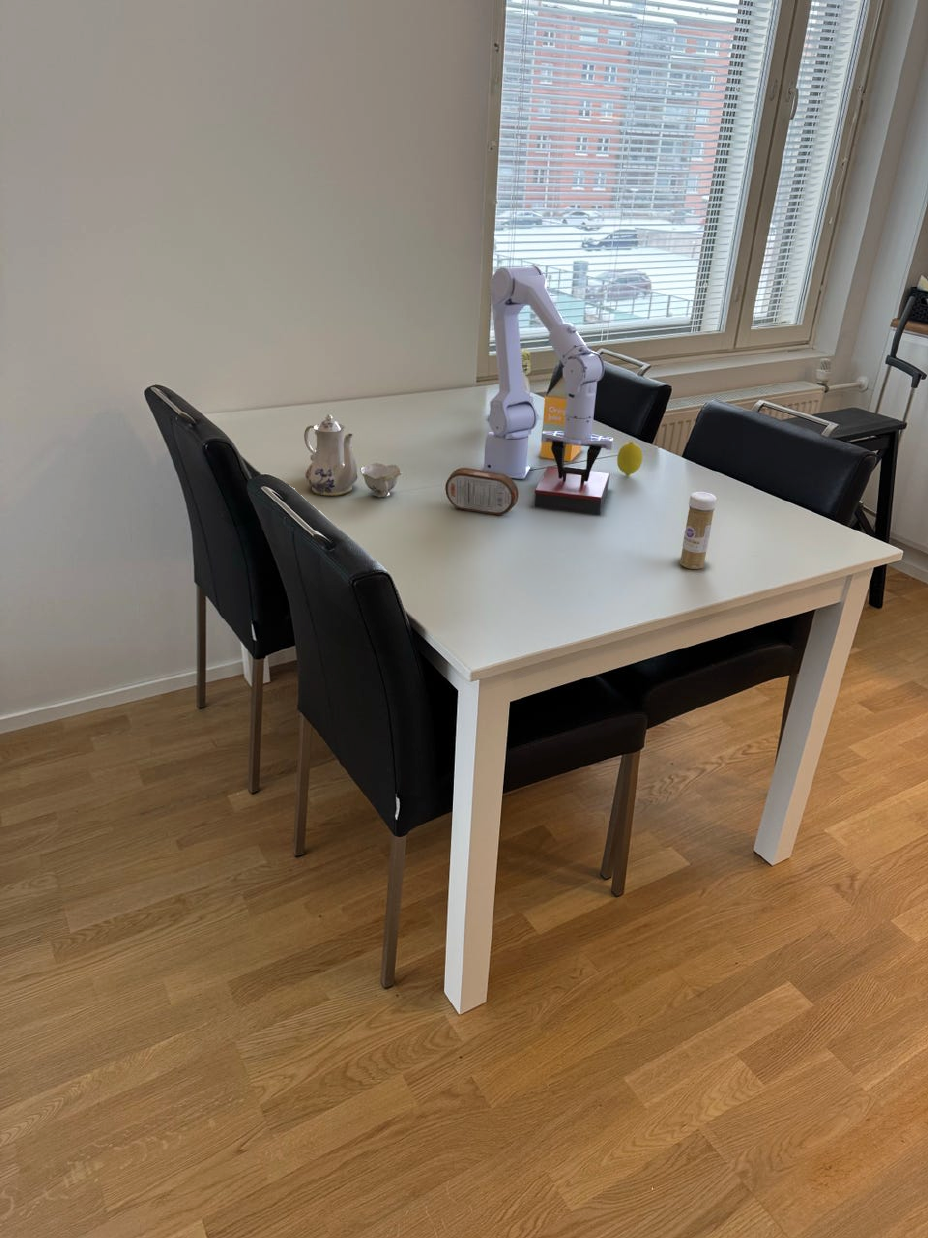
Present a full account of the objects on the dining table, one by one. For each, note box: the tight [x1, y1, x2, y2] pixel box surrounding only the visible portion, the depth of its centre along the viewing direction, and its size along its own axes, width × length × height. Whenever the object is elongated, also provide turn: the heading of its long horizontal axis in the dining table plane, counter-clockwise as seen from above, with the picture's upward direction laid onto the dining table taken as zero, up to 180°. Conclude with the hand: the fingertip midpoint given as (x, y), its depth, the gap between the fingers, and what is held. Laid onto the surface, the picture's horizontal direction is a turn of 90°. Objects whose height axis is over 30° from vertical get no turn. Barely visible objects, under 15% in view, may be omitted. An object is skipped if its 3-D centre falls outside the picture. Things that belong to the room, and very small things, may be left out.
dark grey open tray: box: [533, 478, 610, 516], centre depth 194 cm, size 15×14×3 cm
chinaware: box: [303, 413, 403, 498], centre depth 193 cm, size 28×17×17 cm, turn 47°
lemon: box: [616, 441, 643, 477], centre depth 207 cm, size 6×6×8 cm
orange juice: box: [539, 375, 582, 463], centre depth 216 cm, size 8×9×20 cm
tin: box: [444, 467, 519, 516], centre depth 185 cm, size 15×3×8 cm, turn 71°
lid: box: [534, 465, 611, 501], centre depth 192 cm, size 15×14×4 cm
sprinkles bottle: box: [679, 491, 718, 570], centre depth 164 cm, size 5×5×14 cm
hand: (573, 478), depth 192 cm, fingers closed on lid, 5 cm apart
